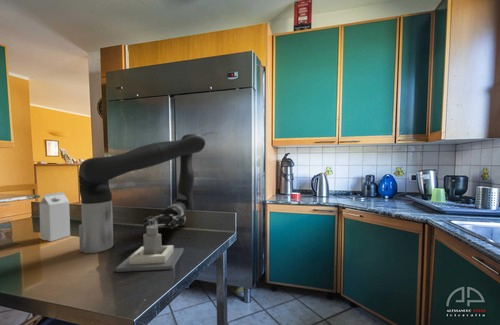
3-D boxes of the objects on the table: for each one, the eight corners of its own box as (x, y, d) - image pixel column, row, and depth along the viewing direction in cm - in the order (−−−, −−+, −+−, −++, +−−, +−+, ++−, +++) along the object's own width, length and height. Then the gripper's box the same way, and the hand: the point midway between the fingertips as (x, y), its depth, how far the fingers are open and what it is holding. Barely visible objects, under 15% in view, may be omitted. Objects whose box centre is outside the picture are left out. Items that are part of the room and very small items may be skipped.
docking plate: (115, 271, 63) (115, 261, 63) (136, 252, 76) (136, 244, 76) (172, 269, 64) (172, 258, 64) (183, 250, 77) (183, 242, 77)
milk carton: (40, 239, 92) (38, 194, 91) (60, 234, 98) (59, 191, 98) (50, 241, 89) (48, 194, 89) (70, 236, 95) (69, 192, 95)
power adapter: (151, 253, 73) (150, 217, 73) (162, 256, 71) (161, 219, 70) (142, 257, 70) (141, 219, 70) (154, 260, 68) (153, 221, 68)
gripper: (155, 206, 92) (137, 216, 76) (189, 205, 92) (179, 214, 76) (155, 224, 92) (137, 237, 76) (190, 223, 93) (179, 236, 76)
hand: (158, 226), depth 76 cm, fingers open, 8 cm apart
